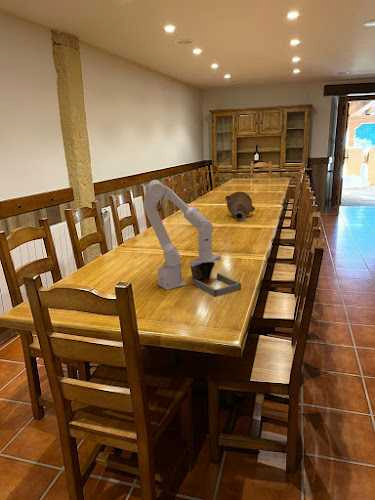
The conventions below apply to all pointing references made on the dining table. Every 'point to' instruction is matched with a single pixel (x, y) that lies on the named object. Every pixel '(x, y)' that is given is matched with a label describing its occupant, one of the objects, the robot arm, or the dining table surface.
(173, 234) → the dining table surface
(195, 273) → the box
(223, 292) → the grey arch frame
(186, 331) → the dining table surface
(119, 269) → the dining table surface
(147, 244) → the dining table surface
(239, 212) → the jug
